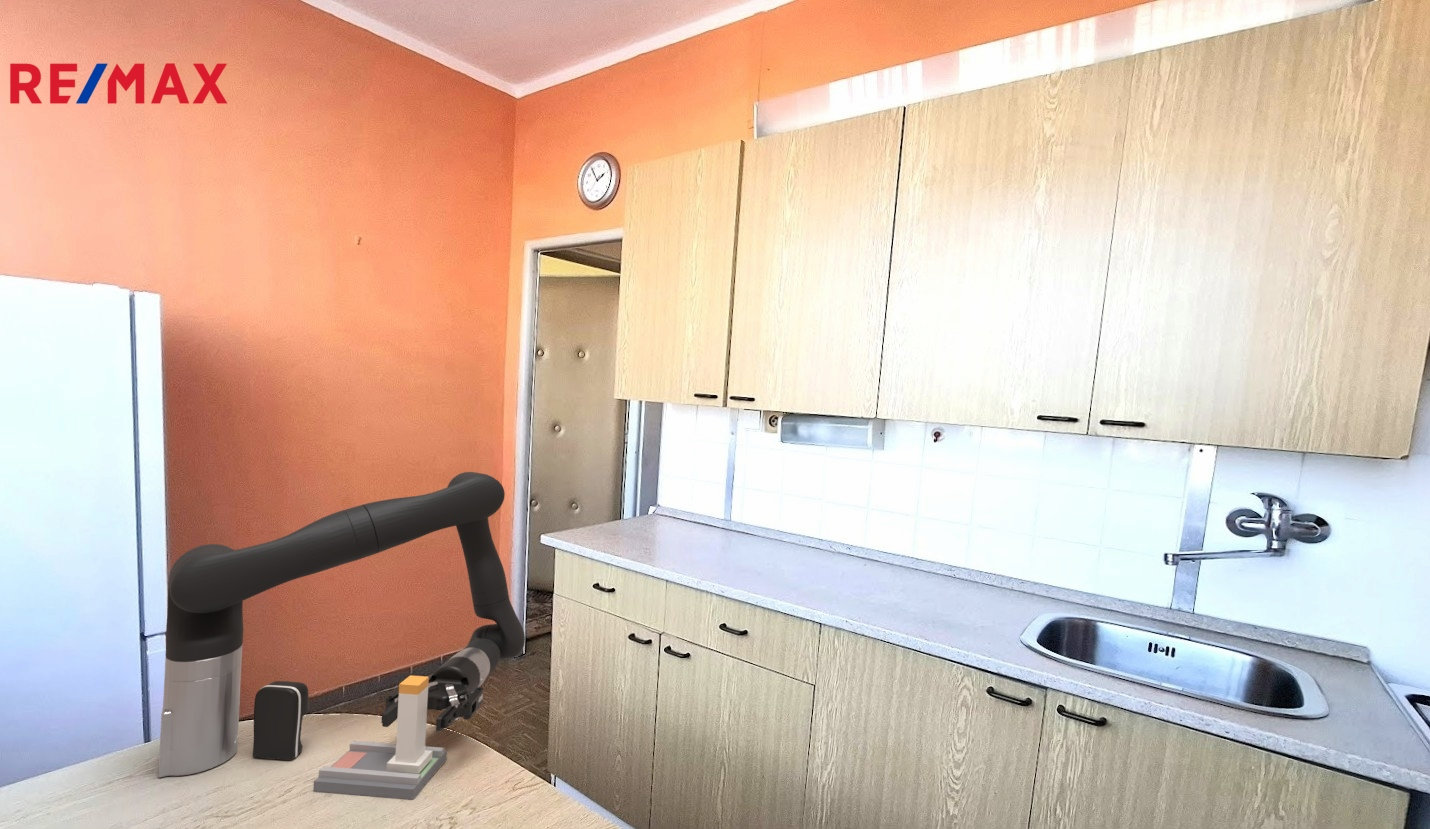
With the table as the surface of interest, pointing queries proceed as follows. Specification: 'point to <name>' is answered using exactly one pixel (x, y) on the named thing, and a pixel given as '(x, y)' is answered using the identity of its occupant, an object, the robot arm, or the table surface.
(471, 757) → the table surface
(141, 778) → the table surface
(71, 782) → the table surface
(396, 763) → the switch handle
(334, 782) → the switch panel
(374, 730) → the table surface
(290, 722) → the battery charger
